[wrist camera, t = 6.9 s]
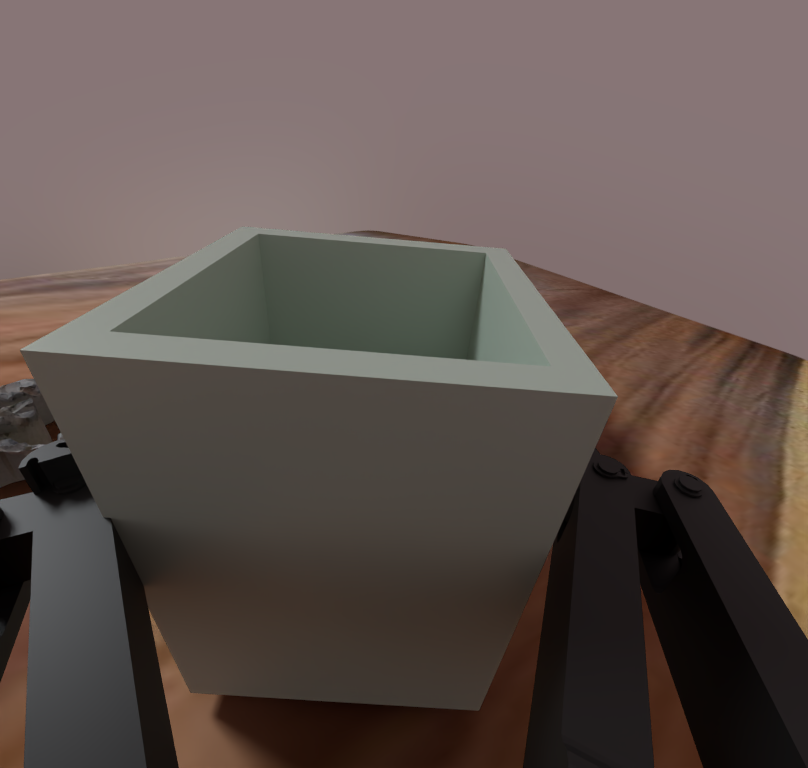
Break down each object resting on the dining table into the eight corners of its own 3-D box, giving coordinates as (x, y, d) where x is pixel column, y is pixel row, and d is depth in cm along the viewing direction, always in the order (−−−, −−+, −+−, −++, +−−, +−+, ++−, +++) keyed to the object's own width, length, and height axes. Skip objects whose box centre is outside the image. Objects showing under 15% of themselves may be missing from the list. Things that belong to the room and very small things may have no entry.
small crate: (190, 692, 12) (19, 349, 6) (276, 478, 20) (242, 226, 14) (479, 711, 13) (618, 397, 6) (455, 491, 20) (505, 248, 14)
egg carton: (175, 394, 27) (160, 339, 25) (178, 468, 21) (159, 406, 19) (-38, 429, 23) (-78, 367, 20) (-105, 534, 17) (-171, 463, 15)
